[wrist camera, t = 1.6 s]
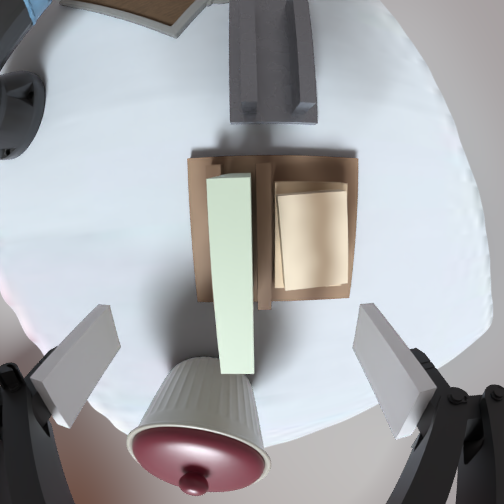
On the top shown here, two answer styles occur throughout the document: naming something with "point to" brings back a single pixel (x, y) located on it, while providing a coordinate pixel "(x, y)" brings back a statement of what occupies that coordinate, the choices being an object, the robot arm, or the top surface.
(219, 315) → the panel
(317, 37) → the top surface
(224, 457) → the canister
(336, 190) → the offcut upper
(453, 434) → the robot arm
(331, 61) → the top surface
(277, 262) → the offcut lower
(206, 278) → the rack
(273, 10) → the stand
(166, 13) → the grey brown flat board
